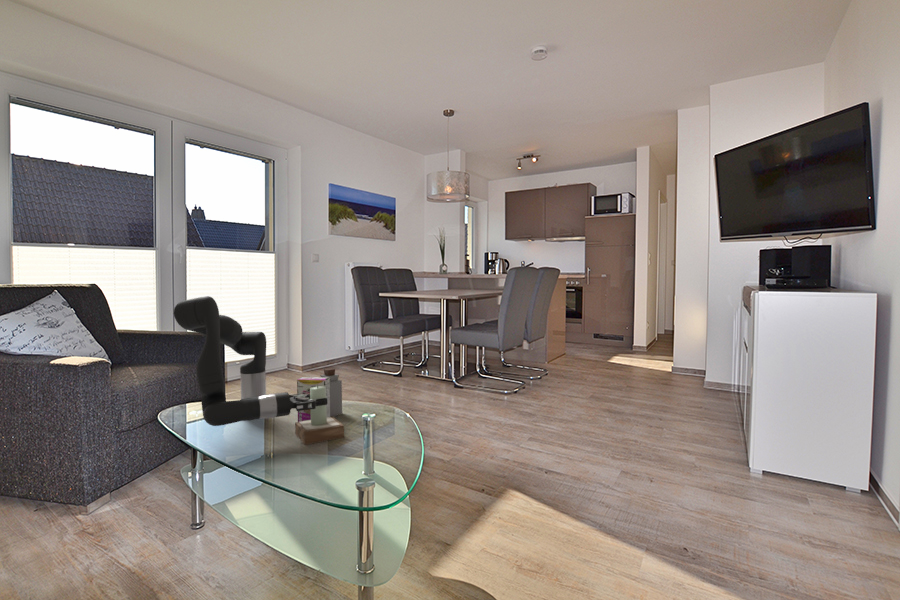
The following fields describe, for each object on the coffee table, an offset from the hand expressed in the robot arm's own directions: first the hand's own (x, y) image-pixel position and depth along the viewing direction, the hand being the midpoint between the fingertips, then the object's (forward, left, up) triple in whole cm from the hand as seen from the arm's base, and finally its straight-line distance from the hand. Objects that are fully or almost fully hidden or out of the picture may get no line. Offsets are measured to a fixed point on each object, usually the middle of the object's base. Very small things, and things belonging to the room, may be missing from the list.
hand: (323, 398), depth 155 cm
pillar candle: (0, -2, -8) cm, 8 cm away
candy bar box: (-18, +1, -13) cm, 22 cm away
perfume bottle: (-24, +9, -13) cm, 29 cm away
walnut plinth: (0, -2, -12) cm, 13 cm away
